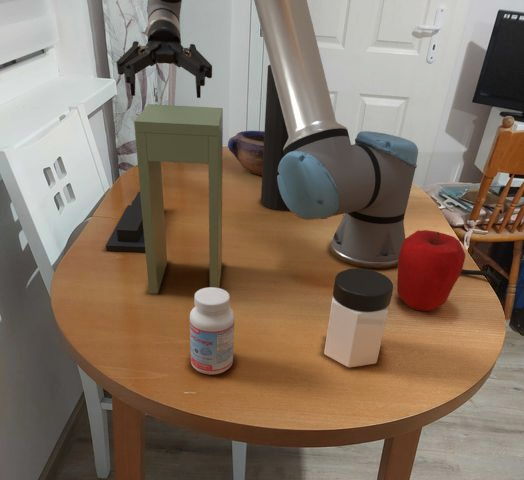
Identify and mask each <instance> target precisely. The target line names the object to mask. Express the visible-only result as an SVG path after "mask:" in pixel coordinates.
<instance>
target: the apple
mask: <svg viewBox="0 0 524 480" xmlns="http://www.w3.org/2000/svg"><path fill="white" fill-rule="evenodd" d="M465 260H466V252H465V250H464V248H463V245H462V244H461V242H460V241H459V240H458V239H457V238H456V237H455V236H453V235H449V234H447V233H444V232H439V231H436V230H428V229H423V230H416V231H415V232H413V233H412V234H410V235H408V236H407V237H405V239H404V241H403V244H402V247H401V250H400V253H399V257H398V265H397V282H396V284H397V285H396V292H397V295H398V297H399V298H400V299H401V300H402V301H403V302H404V303H405V304H406V305H407V306H408V307H409V308H410V309H413V310H416V311H421V312H432V311H435V309H438V308H439V307H441V306H443V305H445V304H446V302H447V300H448V299H449V296H450V294H451V292H452V290H453V288H454V286H455V285H456V282H457V281H458V279H459V277H460V275H461V274H460V273H461V272H462V269H464V264H465Z"/></svg>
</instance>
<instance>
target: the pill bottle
mask: <svg viewBox="0 0 524 480" xmlns="http://www.w3.org/2000/svg"><path fill="white" fill-rule="evenodd" d="M230 296H231V295H230V293H229V292H228V291H227V290H225V289H223V288H220V287H219V288H215V287H210V286H209V287H203V288H200V289H198V290H197V291H196V292H194V302H193V304H194V307H193V308H192V309H191V311H190V313H189V350H190V363H191V366H192V367H193V369H195V370H196V371H197V372H199V373H201V374H205V375H219V374H223V373H224V372H226V371H227V370H229V369H230V368H231V367H232V365H233V363H234V347H235V346H234V343H235V313H234V310H233V309H232V308H231V306H230V305H231V301H230V300H231V298H230Z"/></svg>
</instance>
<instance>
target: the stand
mask: <svg viewBox="0 0 524 480" xmlns="http://www.w3.org/2000/svg"><path fill="white" fill-rule="evenodd" d="M223 115H224V108H223V107H210V106H209V107H208V106H195V105H194V106H193V105H191V106H189V105H173V104H155V103H153V104H152V103H148V104H147V105H146V106H145V107H144V109H142V111H141V112H140V113H139V115H137V117H136V118H135V119H134V120H133V126H134V136H135V148H136V159H137V170H138V183H139V192H140V195H141V206H142V217H143V229H144V240H145V251H146V252H145V261H146V272H147V273H146V274H147V283H148V294H155V295H159V291H160V288H161V284H162V281H163V279H164V278H163V277H164V274H165V271H166V268H167V266H168V265H167V264H168V254H167V253H168V252H167V238H166V237H167V236H166V223H165V206H164V187H163V174H162V173H163V172H162V163H178V164H179V163H182V164H201V165H208V226H209V227H208V233H209V234H208V242H209V243H208V245H209V246H208V249H209V251H208V252H209V253H208V255H209V258H208V259H209V287H215V288H220V285H221V277H222V276H221V275H222V268H223V267H222V265H223V152H224V151H223V148H224V147H223V143H224V142H223V141H224V139H223V137H224V135H223V134H224V133H223V129H224V127H223V125H224V123H223V122H224V121H223V117H224V116H223Z"/></svg>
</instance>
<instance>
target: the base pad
mask: <svg viewBox="0 0 524 480" xmlns="http://www.w3.org/2000/svg"><path fill="white" fill-rule="evenodd" d="M130 206H131V204H128V205H127V206H126V207H125V210H124V211H123V213H122V215H121V217H120V218H119V221H118V222H117V223H116V226H115V228H114V229H113V231H112V233H111V235H110V237H109V239H108V241H107V242H106V244H105V250H106V251H107V252H125V253H146V251H145V240H144V231H143V233H142V235H141V237H140V239H139V241H138V242H120V241H118V237H117V228H118V226H119V225H120V223H121V221H122V219H123V218H124V216H125V214H126V212H127V211H128V209H129V207H130Z"/></svg>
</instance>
